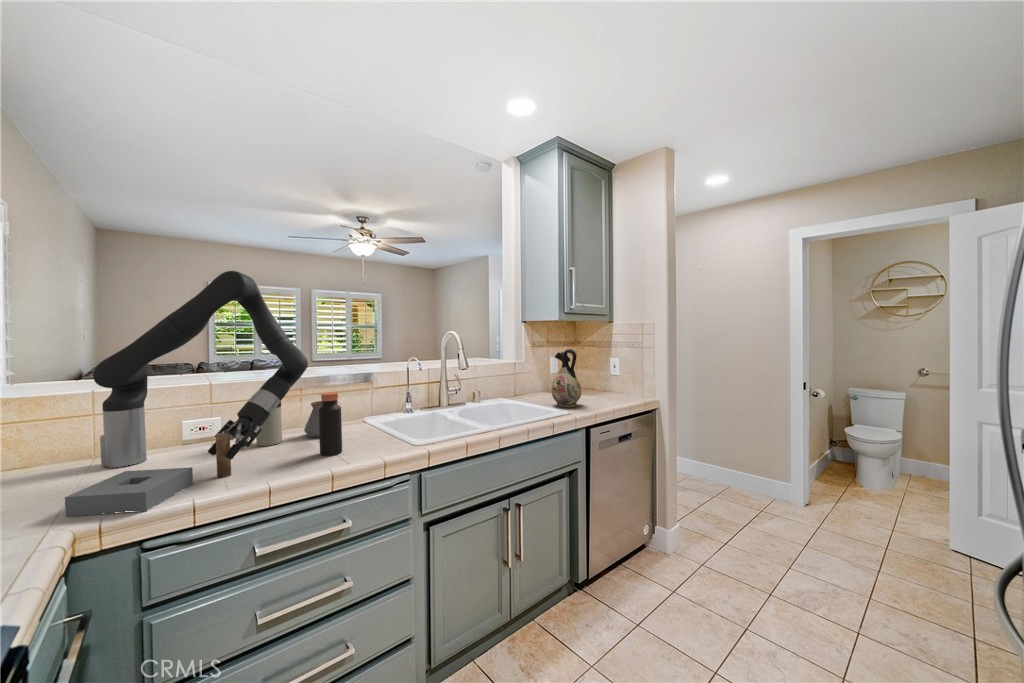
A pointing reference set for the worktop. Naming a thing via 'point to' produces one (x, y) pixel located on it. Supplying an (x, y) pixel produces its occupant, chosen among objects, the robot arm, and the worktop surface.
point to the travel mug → (271, 429)
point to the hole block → (128, 491)
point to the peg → (221, 450)
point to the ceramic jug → (566, 382)
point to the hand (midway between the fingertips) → (219, 455)
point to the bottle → (330, 425)
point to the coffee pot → (314, 420)
